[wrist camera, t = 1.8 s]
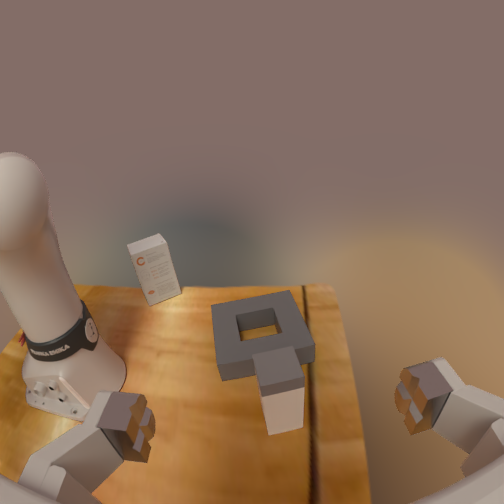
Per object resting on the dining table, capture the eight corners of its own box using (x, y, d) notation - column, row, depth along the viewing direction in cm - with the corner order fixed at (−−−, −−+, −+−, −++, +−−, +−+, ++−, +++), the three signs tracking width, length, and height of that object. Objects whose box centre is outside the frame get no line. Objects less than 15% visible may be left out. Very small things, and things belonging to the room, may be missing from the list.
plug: (268, 435, 33) (259, 386, 27) (262, 408, 37) (252, 354, 31) (302, 427, 33) (304, 376, 27) (294, 401, 37) (292, 345, 32)
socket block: (222, 381, 42) (217, 365, 40) (215, 321, 55) (211, 305, 53) (314, 361, 43) (315, 344, 41) (290, 306, 56) (289, 289, 54)
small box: (173, 281, 69) (160, 232, 63) (182, 294, 64) (167, 241, 58) (143, 293, 66) (126, 244, 59) (148, 307, 61) (130, 255, 55)
